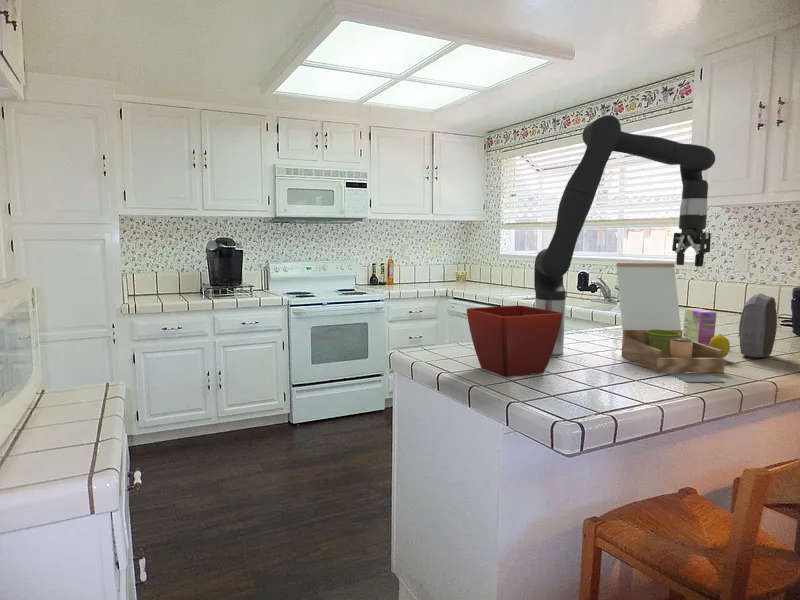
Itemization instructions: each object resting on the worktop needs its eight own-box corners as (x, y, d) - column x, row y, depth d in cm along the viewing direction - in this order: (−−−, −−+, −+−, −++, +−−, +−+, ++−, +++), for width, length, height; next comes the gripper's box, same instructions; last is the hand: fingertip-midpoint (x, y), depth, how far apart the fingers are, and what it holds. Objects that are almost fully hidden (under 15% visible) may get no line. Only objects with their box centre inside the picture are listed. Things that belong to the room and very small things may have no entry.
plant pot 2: (684, 364, 158) (686, 335, 157) (652, 363, 159) (654, 334, 158) (669, 357, 168) (671, 329, 167) (639, 356, 168) (640, 329, 167)
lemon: (727, 359, 166) (729, 333, 165) (729, 362, 161) (732, 336, 160) (707, 357, 168) (708, 331, 167) (708, 360, 163) (710, 334, 162)
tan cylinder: (675, 370, 150) (677, 341, 149) (664, 365, 156) (666, 337, 155) (695, 370, 151) (697, 341, 150) (683, 365, 156) (685, 337, 155)
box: (714, 345, 186) (716, 312, 185) (697, 345, 186) (700, 311, 185) (698, 340, 197) (700, 308, 195) (682, 340, 197) (684, 308, 195)
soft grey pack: (759, 361, 162) (765, 295, 160) (729, 356, 169) (734, 293, 167) (776, 355, 172) (782, 292, 170) (746, 350, 178) (751, 290, 176)
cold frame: (658, 373, 147) (660, 344, 146) (621, 355, 169) (622, 330, 168) (724, 373, 148) (726, 344, 147) (678, 355, 170) (680, 330, 169)
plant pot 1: (463, 366, 154) (464, 307, 152) (519, 360, 161) (521, 304, 159) (501, 382, 136) (503, 316, 134) (562, 375, 144) (564, 313, 142)
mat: (686, 382, 138) (686, 381, 137) (669, 374, 145) (669, 373, 145) (724, 382, 138) (725, 381, 138) (706, 374, 146) (706, 373, 146)
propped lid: (622, 356, 169) (627, 264, 166) (606, 348, 181) (610, 262, 177) (679, 356, 170) (685, 264, 167) (659, 348, 181) (665, 262, 178)
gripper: (667, 214, 175) (663, 264, 177) (698, 212, 161) (694, 266, 163) (688, 215, 176) (684, 264, 178) (720, 213, 162) (716, 267, 164)
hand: (689, 265), depth 171 cm, fingers open, 8 cm apart
